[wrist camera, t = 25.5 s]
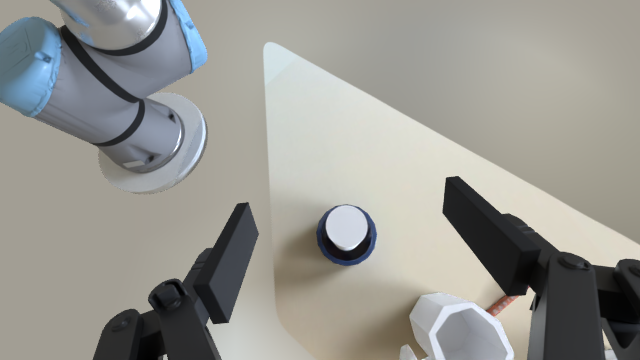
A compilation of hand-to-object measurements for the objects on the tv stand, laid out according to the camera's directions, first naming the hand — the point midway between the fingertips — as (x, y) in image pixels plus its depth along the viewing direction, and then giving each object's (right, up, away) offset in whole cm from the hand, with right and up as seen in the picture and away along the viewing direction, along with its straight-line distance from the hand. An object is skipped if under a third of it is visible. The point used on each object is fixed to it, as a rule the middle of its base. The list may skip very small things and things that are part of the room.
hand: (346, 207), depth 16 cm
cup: (+3, -8, +24) cm, 25 cm away
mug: (+14, -20, +19) cm, 31 cm away
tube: (+2, -8, +23) cm, 24 cm away
